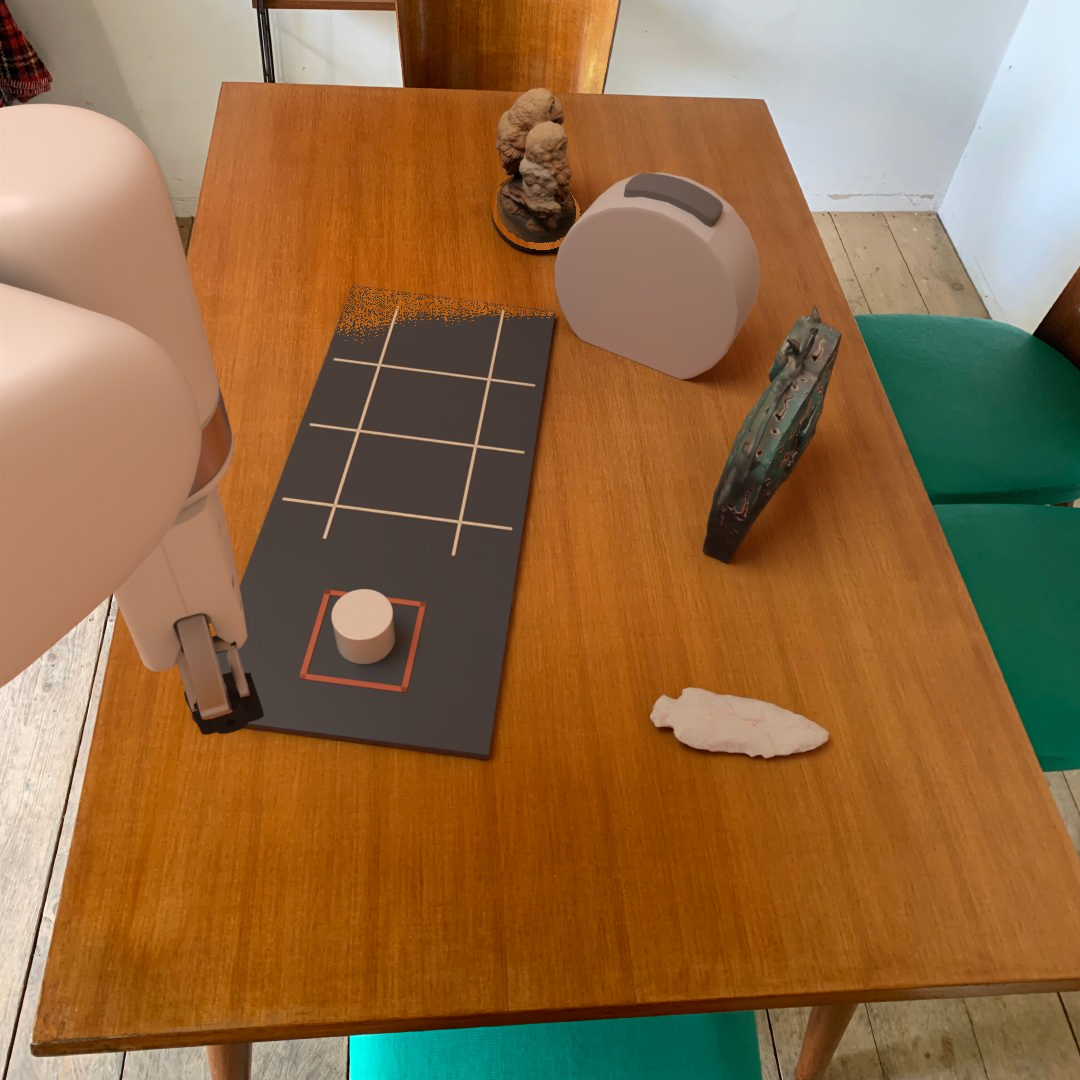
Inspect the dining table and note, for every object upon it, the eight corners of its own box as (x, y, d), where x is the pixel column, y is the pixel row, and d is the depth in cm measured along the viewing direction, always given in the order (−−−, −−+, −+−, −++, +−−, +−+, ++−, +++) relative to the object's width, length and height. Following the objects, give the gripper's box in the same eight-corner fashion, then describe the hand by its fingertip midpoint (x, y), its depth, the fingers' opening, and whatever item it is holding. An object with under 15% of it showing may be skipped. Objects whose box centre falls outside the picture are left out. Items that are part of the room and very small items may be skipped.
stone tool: (647, 750, 76) (829, 770, 75) (650, 738, 74) (837, 758, 74) (648, 690, 80) (822, 708, 79) (651, 677, 78) (829, 695, 77)
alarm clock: (739, 355, 107) (788, 202, 91) (716, 393, 102) (765, 239, 87) (575, 292, 111) (595, 136, 96) (547, 326, 107) (563, 169, 91)
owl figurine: (591, 260, 115) (610, 130, 102) (498, 262, 114) (505, 130, 100) (570, 180, 126) (584, 53, 113) (484, 181, 125) (488, 51, 111)
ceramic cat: (753, 426, 100) (810, 271, 84) (809, 449, 98) (879, 297, 82) (682, 550, 88) (734, 400, 73) (745, 579, 87) (811, 432, 71)
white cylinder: (344, 671, 77) (340, 647, 73) (329, 623, 79) (324, 598, 76) (402, 654, 78) (400, 629, 75) (385, 607, 81) (383, 582, 78)
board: (488, 760, 74) (488, 754, 73) (193, 721, 74) (190, 715, 73) (554, 318, 108) (555, 310, 107) (353, 291, 108) (352, 284, 107)
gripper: (19, 316, 41) (125, 546, 55) (51, 626, 32) (170, 811, 45) (192, 287, 43) (253, 516, 57) (270, 569, 34) (321, 762, 47)
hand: (216, 646), depth 51 cm, fingers open, 9 cm apart
